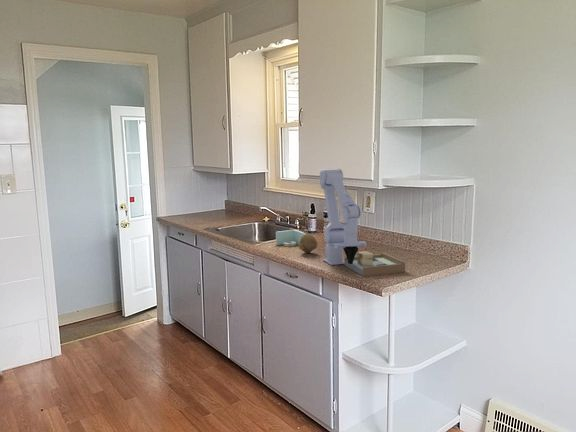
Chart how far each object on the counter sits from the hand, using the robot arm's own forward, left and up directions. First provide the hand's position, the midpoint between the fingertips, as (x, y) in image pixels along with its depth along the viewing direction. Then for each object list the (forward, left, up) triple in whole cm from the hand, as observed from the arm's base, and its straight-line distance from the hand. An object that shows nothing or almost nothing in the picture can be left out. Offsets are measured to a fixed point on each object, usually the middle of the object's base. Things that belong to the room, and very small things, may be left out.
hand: (350, 263), depth 206 cm
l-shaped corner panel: (-57, -8, -4) cm, 57 cm away
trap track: (0, +12, -3) cm, 12 cm away
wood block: (0, +7, -1) cm, 7 cm away
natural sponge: (-37, -5, -4) cm, 38 cm away
